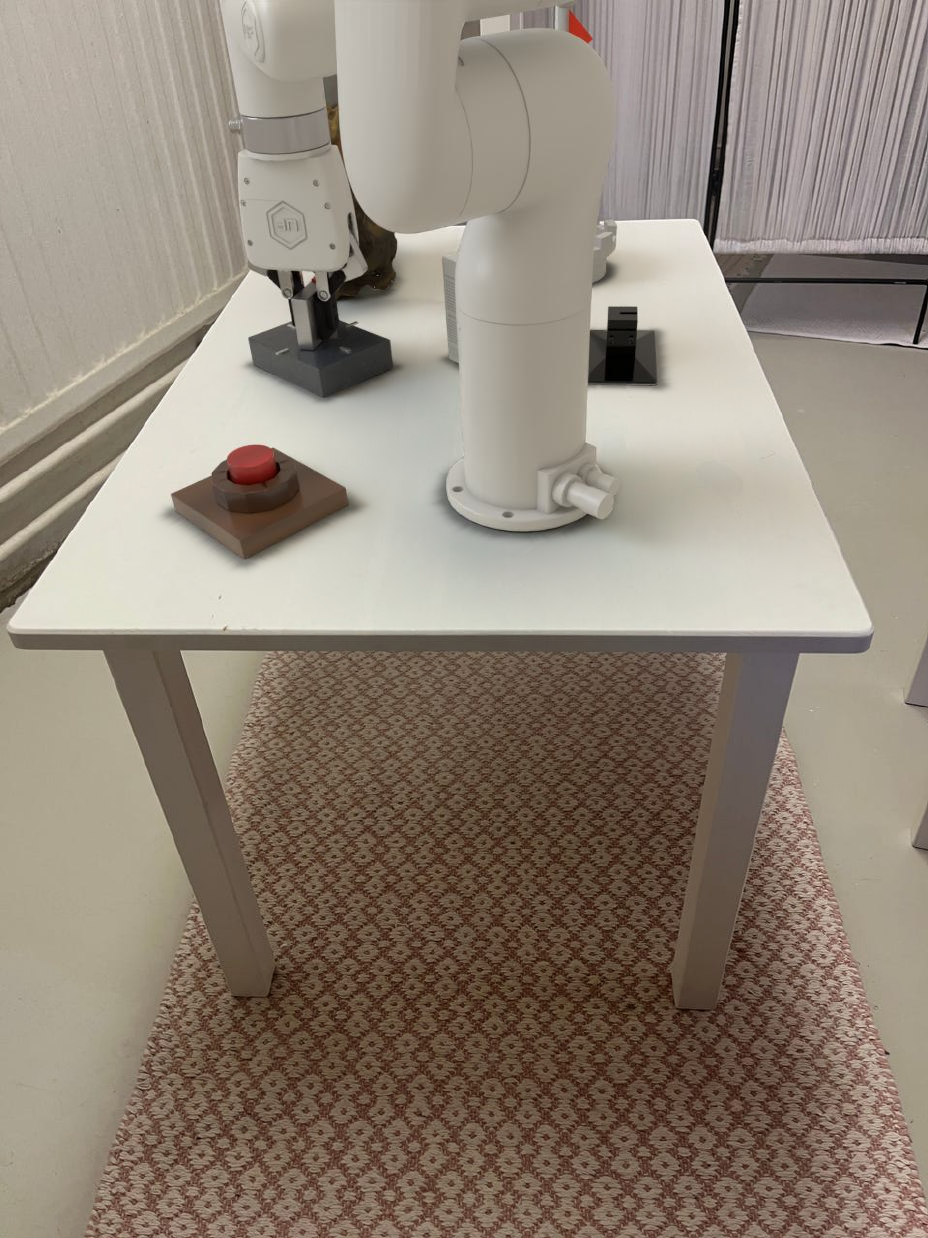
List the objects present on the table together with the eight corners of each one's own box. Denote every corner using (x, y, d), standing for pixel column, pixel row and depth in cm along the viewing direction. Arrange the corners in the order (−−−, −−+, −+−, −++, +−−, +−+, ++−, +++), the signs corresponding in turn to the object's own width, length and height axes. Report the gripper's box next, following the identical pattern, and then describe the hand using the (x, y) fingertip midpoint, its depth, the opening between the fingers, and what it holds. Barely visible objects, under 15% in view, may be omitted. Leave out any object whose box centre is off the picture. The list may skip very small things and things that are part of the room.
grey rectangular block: (313, 350, 91) (305, 297, 88) (298, 349, 91) (290, 296, 88) (336, 326, 95) (329, 275, 92) (322, 325, 96) (314, 274, 92)
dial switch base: (398, 365, 95) (395, 336, 93) (318, 400, 89) (313, 369, 87) (326, 336, 101) (321, 307, 99) (248, 366, 96) (242, 337, 94)
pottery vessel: (329, 250, 124) (306, 81, 111) (409, 248, 123) (396, 77, 110) (291, 323, 105) (258, 129, 92) (386, 321, 104) (366, 124, 91)
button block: (348, 505, 74) (343, 467, 72) (244, 560, 69) (235, 520, 67) (276, 464, 80) (269, 427, 78) (175, 511, 75) (164, 474, 73)
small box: (507, 337, 99) (505, 235, 92) (541, 353, 95) (542, 248, 88) (446, 359, 95) (439, 254, 89) (479, 376, 92) (474, 269, 85)
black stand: (656, 386, 88) (660, 339, 85) (579, 385, 89) (581, 339, 86) (654, 332, 98) (657, 289, 95) (584, 332, 99) (586, 289, 96)
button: (286, 473, 73) (282, 454, 71) (248, 492, 71) (243, 472, 70) (260, 458, 75) (256, 439, 74) (222, 476, 73) (217, 456, 72)
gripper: (186, 141, 81) (230, 344, 92) (355, 144, 77) (378, 355, 89) (225, 122, 86) (262, 315, 98) (385, 123, 82) (403, 324, 94)
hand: (317, 333), depth 93 cm, fingers closed on grey rectangular block
